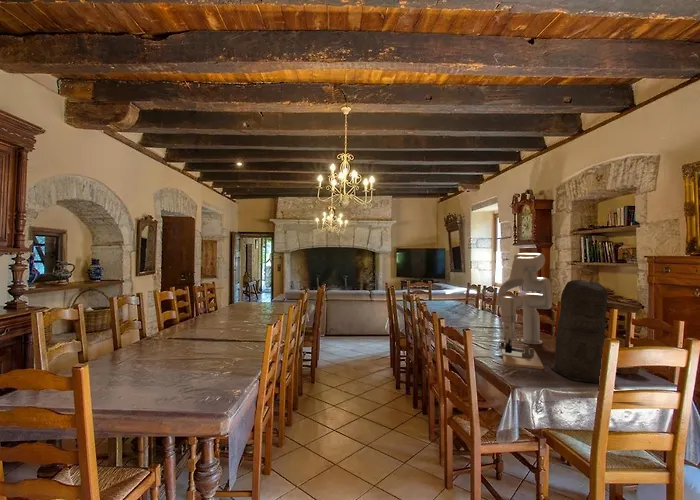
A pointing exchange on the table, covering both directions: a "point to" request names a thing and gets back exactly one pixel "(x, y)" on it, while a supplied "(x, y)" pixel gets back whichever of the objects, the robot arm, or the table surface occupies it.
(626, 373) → the bread
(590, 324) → the stone sculpture
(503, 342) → the swing bar
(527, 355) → the door and jamb board
